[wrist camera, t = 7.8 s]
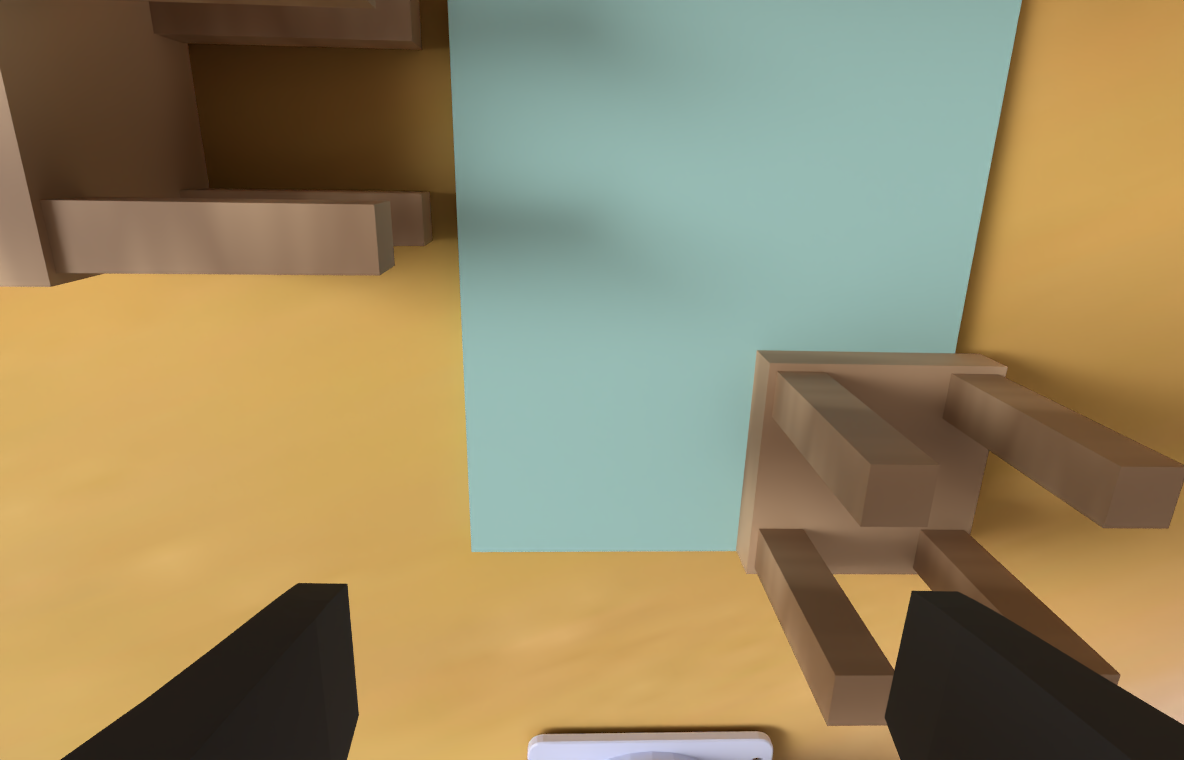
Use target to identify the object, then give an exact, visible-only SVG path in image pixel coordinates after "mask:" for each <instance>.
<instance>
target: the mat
mask: <svg viewBox="0 0 1184 760" xmlns="http://www.w3.org/2000/svg"><path fill="white" fill-rule="evenodd" d="M1021 3H1022V0H448V20H449V43H450V66H451V89H452V112H453V135H454V158H455V181H456V204H457V227H458V250H459V273H460V296H461V318H462V341H463V364H464V387H465V410H466V433H467V456H468V479H469V502H470V525H471V548H472V552H579V551H736V545H737V535H738V526H739V516H740V507H741V497H742V487H743V478H744V468H745V458H746V449H747V439H748V430H749V420H750V410H751V401H752V391H753V382H754V372H755V362H756V353H757V350H773V351H837V352H901V353H955V350H956V345H957V339H958V334H959V329H960V324H961V318H962V313H963V308H964V303H965V297H966V292H967V287H968V281H969V276H970V271H971V266H972V260H973V255H974V250H975V245H976V239H977V234H978V229H979V224H980V218H981V213H982V208H983V203H984V197H985V192H986V187H987V181H988V176H989V171H990V166H991V160H992V155H993V150H994V145H995V139H996V134H997V129H998V124H999V118H1000V113H1001V108H1002V103H1003V97H1004V92H1005V87H1006V81H1007V76H1008V71H1009V66H1010V60H1011V55H1012V50H1013V45H1014V39H1015V34H1016V29H1017V24H1018V18H1019V13H1020V8H1021Z"/></svg>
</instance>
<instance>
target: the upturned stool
mask: <svg viewBox="0 0 1184 760" xmlns="http://www.w3.org/2000/svg"><path fill="white" fill-rule="evenodd" d="M1007 368H1008V367H1007V366H1005V365H1003V364H1001V363H999V362H996V361H994V360H992V359H990V358H988V357H986V356H983V355H981V354H965V353H901V352H837V351H773V350H757V353H756V362H755V372H754V382H753V391H752V401H751V410H750V420H749V430H748V439H747V449H746V458H745V468H744V478H743V487H742V497H741V507H740V516H739V526H738V535H737V545H736V551H737V553H738V556H739V558H740V560H741V562H742V565H743V567H744V569H745V572H746V574H758V576H759V579H760V581H761V583H762V585H763V587H764V589H765V592H766V594H767V596H768V598H769V600H770V603H771V605H772V607H773V609H774V611H775V613H776V616H777V618H778V620H779V622H780V624H781V626H782V629H783V631H784V633H785V635H786V637H787V639H788V642H789V644H790V646H791V648H792V650H793V652H794V655H795V657H796V659H797V661H798V663H799V665H800V668H801V670H802V672H803V674H804V676H805V679H806V681H807V683H808V685H809V687H810V689H811V692H812V694H813V696H814V698H815V700H816V702H817V705H818V707H819V709H820V711H821V713H822V715H823V718H824V720H825V722H826V724H827V726H859V725H887V723H886V720H885V718H884V717H885V712H886V707H887V703H888V698H889V694H890V689H891V684H892V680H893V675H894V669H893V668H892V666H891V665H890V663H889V661H888V660H887V658H886V657H885V655H884V654H883V652H882V651H881V649H880V647H879V646H878V644H877V643H876V641H875V640H874V638H873V637H872V635H871V633H870V632H869V630H868V629H867V627H866V626H865V624H864V623H863V621H862V619H861V618H860V616H859V615H858V613H857V612H856V610H855V609H854V607H853V605H852V604H851V602H850V601H849V599H848V598H847V596H846V595H845V593H844V591H843V590H842V588H841V587H840V585H839V584H838V582H837V581H836V579H835V577H834V576H833V574H918V575H919V576H920V577H921V578H922V579H923V581H924V582H925V583H926V584H927V585H928V586H929V588H930V589H931V590H932V591H958V592H960V593H962V594H964V595H966V596H968V597H970V598H972V599H974V600H976V601H978V602H979V603H981V604H983V605H985V606H987V607H988V608H990V609H992V610H994V611H995V612H997V613H999V614H1001V615H1002V616H1004V617H1006V618H1007V619H1009V620H1011V621H1012V622H1014V623H1016V624H1017V625H1019V626H1021V627H1022V628H1024V629H1026V630H1027V631H1029V632H1031V633H1032V634H1034V635H1036V636H1037V637H1039V638H1041V639H1042V640H1044V641H1045V642H1047V643H1049V644H1050V645H1052V646H1054V647H1055V648H1057V649H1059V650H1060V651H1062V652H1063V653H1065V654H1067V655H1068V656H1070V657H1072V658H1073V659H1075V660H1077V661H1078V662H1080V663H1081V664H1083V665H1085V666H1086V667H1088V668H1090V669H1091V670H1093V671H1095V672H1096V673H1098V674H1099V675H1101V676H1103V677H1104V678H1106V679H1108V680H1109V681H1111V682H1113V683H1114V684H1116V685H1117V684H1118V681H1119V678H1120V674H1119V673H1118V672H1117V671H1116V670H1115V669H1114V668H1113V667H1112V666H1111V665H1110V664H1109V663H1108V662H1106V661H1105V660H1104V659H1103V658H1102V657H1101V656H1100V655H1099V654H1098V653H1097V652H1096V651H1095V650H1093V649H1092V648H1091V647H1090V646H1089V645H1088V644H1087V643H1086V642H1085V641H1084V640H1083V639H1082V638H1080V637H1079V636H1078V635H1077V634H1076V633H1075V632H1074V631H1073V630H1072V629H1071V628H1070V627H1069V626H1068V625H1066V624H1065V623H1064V622H1063V621H1062V620H1061V619H1060V618H1059V617H1058V616H1057V615H1056V614H1055V613H1053V612H1052V611H1051V610H1050V609H1049V608H1048V607H1047V606H1046V605H1045V604H1044V603H1043V602H1042V601H1040V600H1039V599H1038V598H1037V597H1036V596H1035V595H1034V594H1033V593H1032V592H1031V591H1030V590H1029V589H1028V588H1026V587H1025V586H1024V585H1023V584H1022V583H1021V582H1020V581H1019V580H1018V579H1017V578H1016V577H1015V576H1013V575H1012V574H1011V573H1010V572H1009V571H1008V570H1007V569H1006V568H1005V567H1004V566H1003V565H1002V564H1001V563H999V562H998V561H997V560H996V559H995V558H994V557H993V556H992V555H991V554H990V553H989V552H988V551H986V550H985V549H984V548H983V547H982V546H981V545H980V544H979V543H978V542H977V541H976V540H975V539H973V538H972V537H971V536H970V533H971V528H972V524H973V519H974V515H975V510H976V506H977V501H978V497H979V493H980V488H981V484H982V479H983V475H984V470H985V466H986V461H987V457H988V452H989V451H991V452H992V453H994V454H995V455H997V456H998V457H1000V458H1001V459H1003V460H1004V461H1005V462H1007V463H1008V464H1010V465H1011V466H1013V467H1014V468H1016V469H1017V470H1019V471H1020V472H1022V473H1023V474H1025V475H1026V476H1028V477H1029V478H1030V479H1032V480H1033V481H1035V482H1036V483H1038V484H1039V485H1041V486H1042V487H1044V488H1045V489H1047V490H1048V491H1050V492H1051V493H1052V494H1054V495H1055V496H1057V497H1058V498H1060V499H1061V500H1063V501H1064V502H1066V503H1067V504H1069V505H1070V506H1072V507H1073V508H1074V509H1076V510H1077V511H1079V512H1080V513H1082V514H1083V515H1085V516H1086V517H1088V518H1089V519H1091V520H1092V521H1094V522H1095V523H1097V524H1098V525H1099V526H1101V527H1102V528H1169V525H1170V522H1171V519H1172V516H1173V513H1174V509H1175V506H1176V503H1177V500H1178V497H1179V494H1180V491H1181V488H1182V485H1183V482H1184V465H1183V464H1181V463H1178V462H1176V461H1174V460H1172V459H1170V458H1168V457H1166V456H1164V455H1162V454H1160V453H1158V452H1156V451H1154V450H1152V449H1150V448H1148V447H1146V446H1144V445H1142V444H1140V443H1138V442H1136V441H1134V440H1131V439H1129V438H1127V437H1125V436H1123V435H1121V434H1119V433H1117V432H1115V431H1113V430H1111V429H1109V428H1107V427H1105V426H1103V425H1101V424H1099V423H1097V422H1095V421H1093V420H1091V419H1089V418H1087V417H1085V416H1082V415H1080V414H1078V413H1076V412H1074V411H1072V410H1070V409H1068V408H1066V407H1064V406H1062V405H1060V404H1058V403H1056V402H1054V401H1052V400H1050V399H1048V398H1046V397H1044V396H1042V395H1040V394H1038V393H1036V392H1033V391H1031V390H1029V389H1027V388H1025V387H1023V386H1021V385H1019V384H1017V383H1015V382H1013V381H1011V380H1009V379H1007V378H1005V377H1006V372H1007Z"/></svg>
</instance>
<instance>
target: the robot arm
mask: <svg viewBox="0 0 1184 760" xmlns="http://www.w3.org/2000/svg"><path fill="white" fill-rule="evenodd" d="M358 716H359V712H358V701H357V689H356V678H355V666H354V655H353V643H352V632H351V620H350V609H349V597H348V586H347V584H320V583H298V584H296V585H295V586H293V587H292V588H290V589H289V590H288V591H286V592H285V593H284V594H282V595H281V596H279V597H278V598H277V599H276V600H274V601H273V602H272V603H270V604H269V605H268V606H266V607H265V608H264V609H263V610H261V611H260V612H259V613H257V614H256V615H255V616H254V617H252V618H251V619H250V620H248V621H247V622H246V623H245V624H243V625H242V626H241V627H239V628H238V629H237V630H236V631H234V632H233V633H232V634H230V635H229V636H228V637H227V638H225V639H224V640H223V641H222V642H220V643H219V644H218V645H216V646H215V647H214V648H212V649H211V650H210V651H209V652H207V653H206V654H205V655H203V656H202V657H201V658H199V659H198V660H197V661H195V662H194V663H193V664H191V665H190V666H189V667H188V668H186V669H185V670H184V671H182V672H181V673H180V674H178V675H177V676H176V677H174V678H173V679H172V680H171V681H169V682H168V683H167V684H165V685H164V686H163V687H161V688H160V689H159V690H157V691H156V692H155V693H153V694H152V695H151V696H149V697H148V698H147V699H145V700H144V701H143V702H141V703H140V704H138V705H137V706H136V707H134V708H133V709H131V710H130V711H129V712H127V713H126V714H124V715H123V716H122V717H120V718H119V719H117V720H116V721H114V722H113V723H112V724H110V725H109V726H107V727H106V728H105V729H103V730H102V731H100V732H99V733H97V734H96V735H95V736H93V737H92V738H90V739H89V740H88V741H86V742H85V743H83V744H82V745H81V746H79V747H78V748H76V749H75V750H73V751H72V752H71V753H69V754H68V755H66V756H65V757H64V758H62V759H61V760H347V757H348V753H349V750H350V746H351V742H352V738H353V735H354V731H355V727H356V723H357V720H358ZM884 718H885V720H886V723H887V725H888V728H889V731H890V733H891V736H892V738H893V741H894V744H895V746H896V749H897V751H898V754H899V757H900V759H901V760H1184V725H1183V724H1181V723H1179V722H1178V721H1176V720H1174V719H1173V718H1171V717H1169V716H1167V715H1166V714H1164V713H1162V712H1161V711H1159V710H1157V709H1156V708H1154V707H1152V706H1151V705H1149V704H1147V703H1146V702H1144V701H1142V700H1141V699H1139V698H1137V697H1136V696H1134V695H1132V694H1131V693H1129V692H1127V691H1126V690H1124V689H1122V688H1121V687H1119V686H1117V685H1116V684H1114V683H1113V682H1111V681H1109V680H1108V679H1106V678H1104V677H1103V676H1101V675H1099V674H1098V673H1096V672H1095V671H1093V670H1091V669H1090V668H1088V667H1086V666H1085V665H1083V664H1081V663H1080V662H1078V661H1077V660H1075V659H1073V658H1072V657H1070V656H1068V655H1067V654H1065V653H1063V652H1062V651H1060V650H1059V649H1057V648H1055V647H1054V646H1052V645H1050V644H1049V643H1047V642H1045V641H1044V640H1042V639H1041V638H1039V637H1037V636H1036V635H1034V634H1032V633H1031V632H1029V631H1027V630H1026V629H1024V628H1022V627H1021V626H1019V625H1017V624H1016V623H1014V622H1012V621H1011V620H1009V619H1007V618H1006V617H1004V616H1002V615H1001V614H999V613H997V612H995V611H994V610H992V609H990V608H988V607H987V606H985V605H983V604H981V603H979V602H978V601H976V600H974V599H972V598H970V597H968V596H966V595H964V594H962V593H960V592H958V591H912V593H911V597H910V602H909V606H908V611H907V616H906V620H905V625H904V629H903V634H902V639H901V643H900V648H899V652H898V657H897V662H896V666H895V671H894V675H893V680H892V684H891V689H890V694H889V698H888V703H887V707H886V712H885V717H884ZM772 757H773V745H772V742H771V740H770V738H769V736H768V735H767V734H765V733H763V732H759V731H739V732H664V733H590V734H541V735H537V736H535V737H533V738H532V739H531V740H530V741H529V745H528V760H752V759H754V758H758V759H756V760H772Z"/></svg>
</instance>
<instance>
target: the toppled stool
mask: <svg viewBox="0 0 1184 760" xmlns="http://www.w3.org/2000/svg"><path fill="white" fill-rule="evenodd" d="M188 43H195V44H231V45H266V46H302V47H337V48H373V49H408V50H422V40H421V21H420V3H419V0H0V286H5V287H52V286H56V285H60V284H64V283H68V282H72V281H76V280H80V279H84V278H88V277H92V276H96V275H100V274H104V273H123V274H262V275H381V274H383V273H384V272H386V271H387V270H389V269H390V268H392V267H393V266H395V262H394V249H393V246H425V245H427V244H428V243H430V242H431V241H433V239H432V221H431V203H430V192H423V191H356V190H290V189H223V188H209V182H208V175H207V168H206V162H205V155H204V149H203V142H202V136H201V129H200V122H199V116H198V109H197V103H196V96H195V89H194V83H193V76H192V70H191V63H190V57H189V50H188Z"/></svg>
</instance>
